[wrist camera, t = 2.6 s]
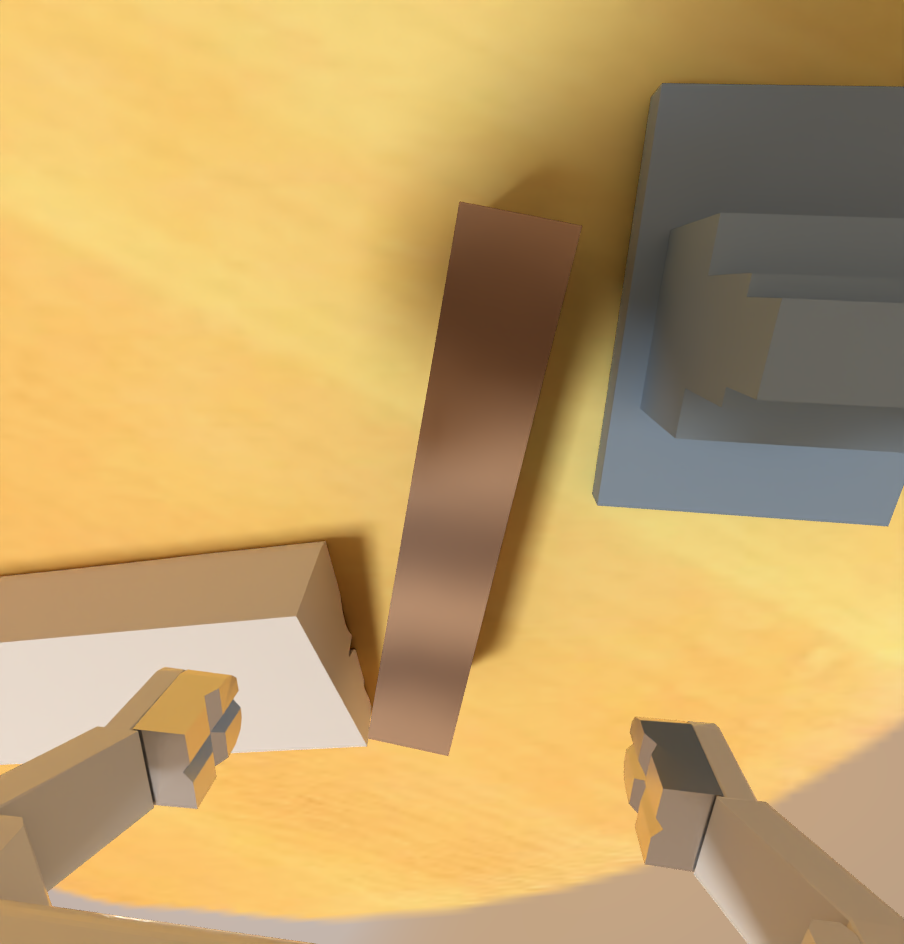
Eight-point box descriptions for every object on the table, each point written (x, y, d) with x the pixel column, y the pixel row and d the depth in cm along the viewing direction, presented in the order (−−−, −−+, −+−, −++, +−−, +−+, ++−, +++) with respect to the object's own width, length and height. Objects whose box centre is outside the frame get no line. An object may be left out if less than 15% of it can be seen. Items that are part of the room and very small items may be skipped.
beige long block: (382, 661, 29) (326, 532, 23) (366, 746, 25) (296, 616, 20) (-108, 697, 34) (-252, 597, 28) (-185, 774, 30) (-370, 675, 24)
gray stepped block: (650, 97, 16) (818, -116, 8) (1012, 103, 16) (1643, -125, 7) (592, 494, 21) (655, 634, 13) (866, 513, 20) (1134, 676, 12)
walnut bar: (469, 223, 18) (459, 201, 14) (561, 242, 18) (582, 225, 14) (391, 655, 25) (367, 738, 21) (457, 669, 25) (448, 755, 21)
